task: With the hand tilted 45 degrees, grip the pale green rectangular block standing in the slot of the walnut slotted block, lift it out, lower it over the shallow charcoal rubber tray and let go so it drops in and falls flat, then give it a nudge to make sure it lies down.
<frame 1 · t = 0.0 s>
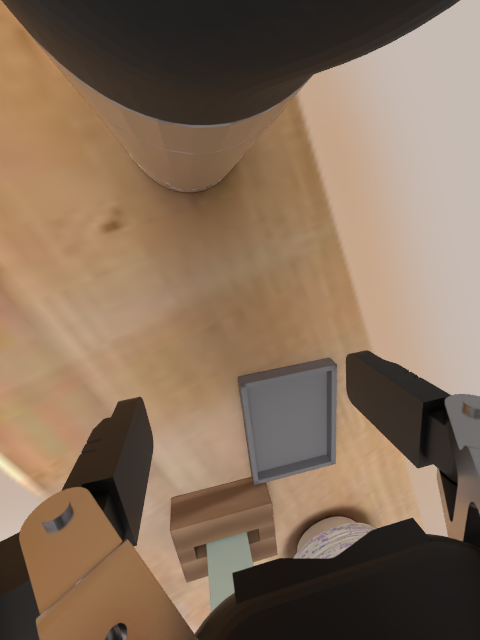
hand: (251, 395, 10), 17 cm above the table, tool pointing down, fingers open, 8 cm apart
charcoal tray: (288, 419, 34), on the table
walnut slotted block: (223, 511, 37), on the table
paper bowls: (325, 535, 43), on the table
pale green rectangular block: (224, 517, 36), point 1 cm above the table, touching walnut slotted block
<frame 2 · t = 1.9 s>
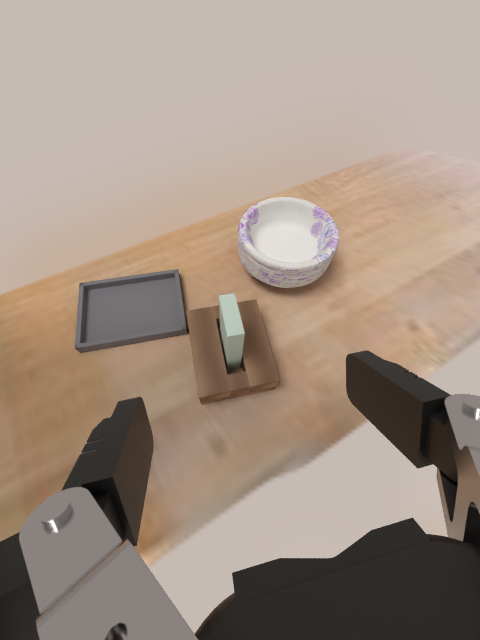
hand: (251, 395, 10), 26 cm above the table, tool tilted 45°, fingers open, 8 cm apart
charcoal tray: (134, 310, 42), on the table
walnut slotted block: (230, 354, 39), on the table
paper bowls: (280, 263, 48), on the table
pale green rectangular block: (230, 352, 38), point 1 cm above the table, touching walnut slotted block
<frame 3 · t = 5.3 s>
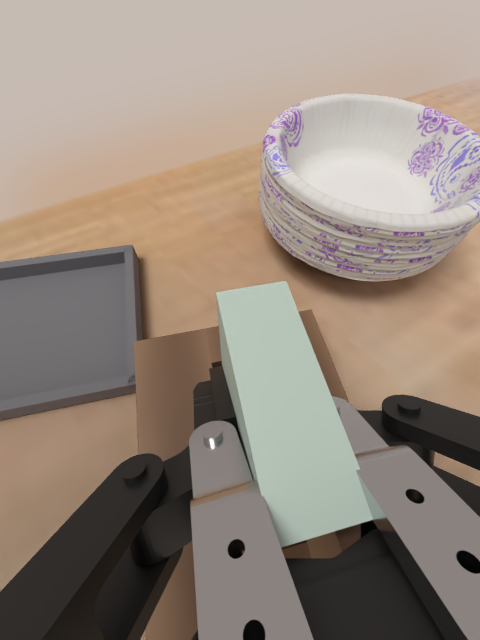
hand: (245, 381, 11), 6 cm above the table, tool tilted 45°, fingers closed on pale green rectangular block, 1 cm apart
charcoal tray: (29, 334, 19), on the table
walnut slotted block: (247, 446, 16), on the table
paper bowls: (337, 237, 25), on the table
pale green rectangular block: (249, 443, 15), point 1 cm above the table, touching gripper
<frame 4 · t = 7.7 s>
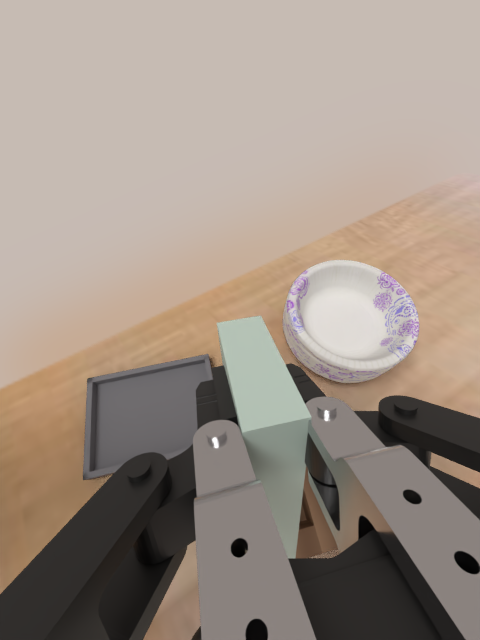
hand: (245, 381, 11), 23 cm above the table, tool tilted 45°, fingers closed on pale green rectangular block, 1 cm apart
charcoal tray: (156, 412, 33), on the table
walnut slotted block: (282, 477, 30), on the table
paper bowls: (331, 337, 39), on the table
pale green rectangular block: (262, 511, 15), point 16 cm above the table, tilted 28°, touching gripper
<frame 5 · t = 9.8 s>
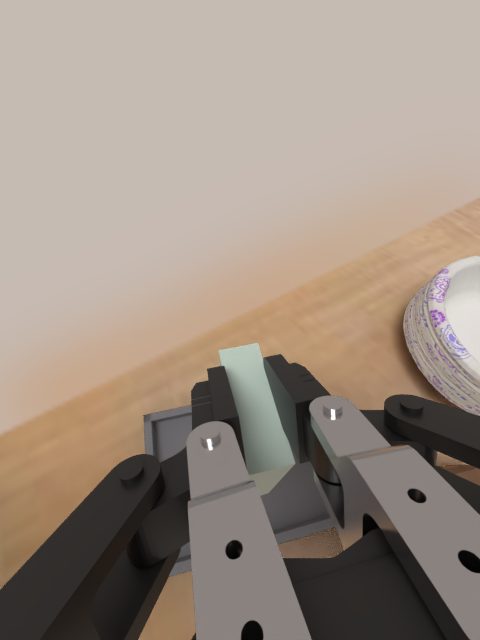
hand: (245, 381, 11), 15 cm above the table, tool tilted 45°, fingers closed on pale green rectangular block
charcoal tray: (241, 464, 23), on the table
walnut slotted block: (437, 569, 21), on the table
paper bowls: (456, 357, 29), on the table
pale green rectangular block: (246, 456, 19), point 5 cm above the table, tilted 9°, touching gripper
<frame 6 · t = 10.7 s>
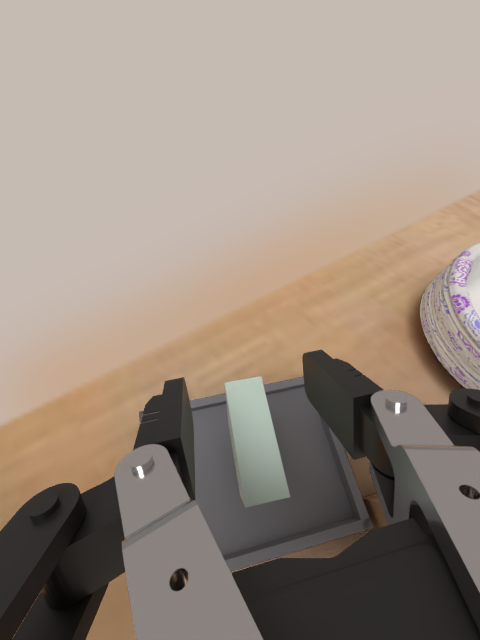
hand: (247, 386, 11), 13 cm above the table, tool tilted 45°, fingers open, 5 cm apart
charcoal tray: (246, 465, 21), on the table
walnut slotted block: (465, 581, 18), on the table
paper bowls: (476, 349, 27), on the table
pale green rectangular block: (245, 455, 21), point 1 cm above the table, touching charcoal tray
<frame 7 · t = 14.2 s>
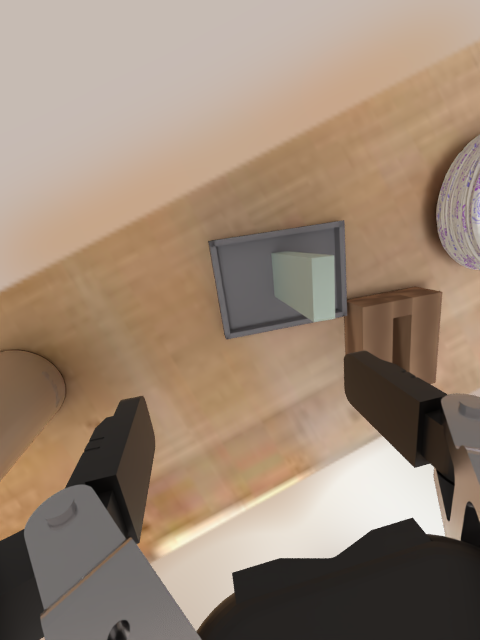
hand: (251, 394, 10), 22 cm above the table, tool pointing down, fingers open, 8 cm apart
charcoal tray: (279, 279, 32), on the table
walnut slotted block: (379, 336, 36), on the table
paper bowls: (467, 205, 34), on the table
pale green rectangular block: (280, 274, 31), resting on charcoal tray
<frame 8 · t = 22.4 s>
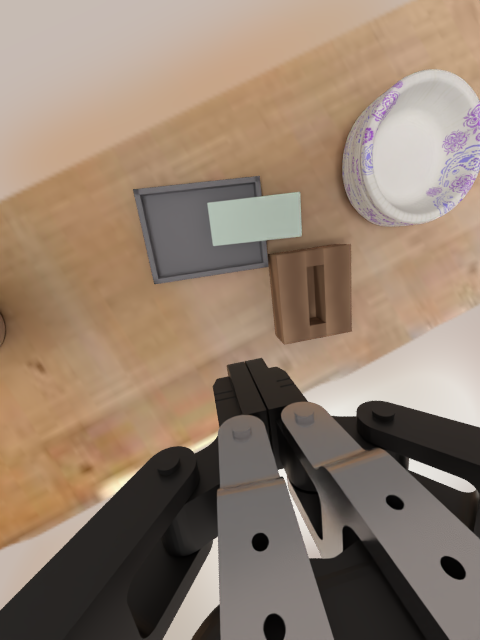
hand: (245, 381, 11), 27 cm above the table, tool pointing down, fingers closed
charcoal tray: (205, 231, 35), on the table
walnut slotted block: (304, 291, 40), on the table
paper bowls: (379, 169, 37), on the table
pale green rectangular block: (211, 225, 34), point 1 cm above the table, tilted 79°, touching charcoal tray
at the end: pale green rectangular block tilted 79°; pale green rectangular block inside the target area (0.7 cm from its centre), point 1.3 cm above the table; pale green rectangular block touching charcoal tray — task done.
